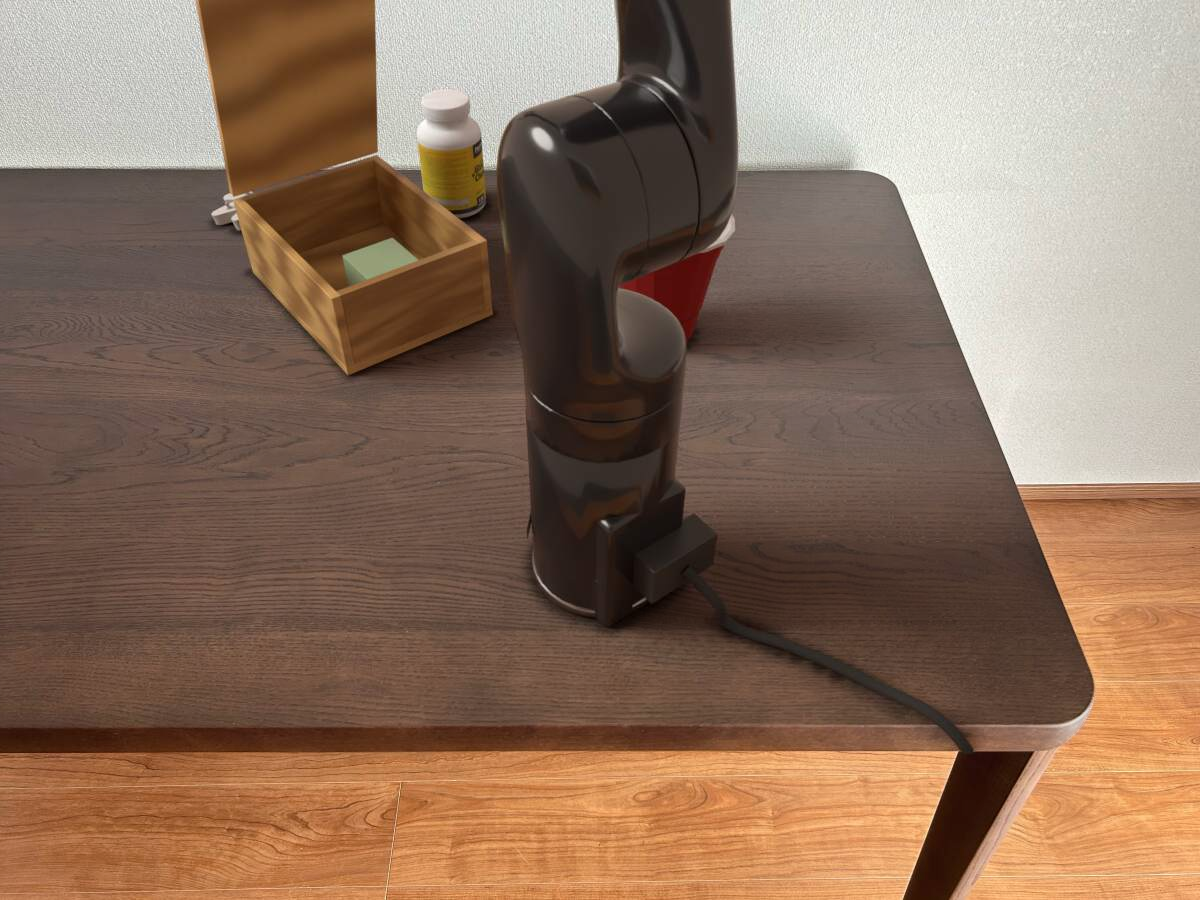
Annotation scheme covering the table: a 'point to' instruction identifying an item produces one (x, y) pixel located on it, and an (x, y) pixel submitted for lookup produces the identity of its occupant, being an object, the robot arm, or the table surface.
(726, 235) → the plastic cup
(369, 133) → the lid
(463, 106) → the pill bottle
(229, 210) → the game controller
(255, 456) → the table surface
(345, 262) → the block
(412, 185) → the chest
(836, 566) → the table surface
